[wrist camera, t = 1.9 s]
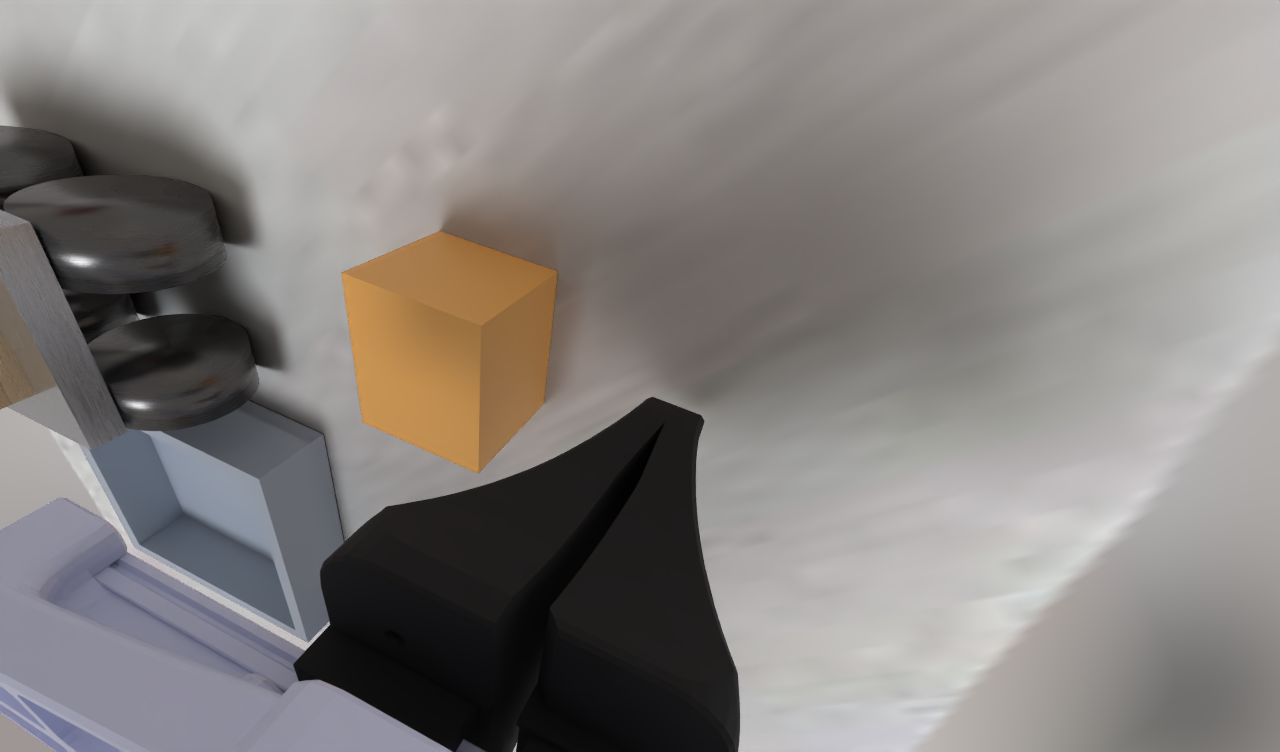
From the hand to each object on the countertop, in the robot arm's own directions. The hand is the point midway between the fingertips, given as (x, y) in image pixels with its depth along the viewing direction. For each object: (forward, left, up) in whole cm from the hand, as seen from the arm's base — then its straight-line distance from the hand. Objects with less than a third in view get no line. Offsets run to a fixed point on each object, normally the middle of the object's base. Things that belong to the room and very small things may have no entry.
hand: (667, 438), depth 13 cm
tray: (-14, +19, -2) cm, 23 cm away
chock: (0, +6, -2) cm, 6 cm away
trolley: (-3, +20, -2) cm, 20 cm away
